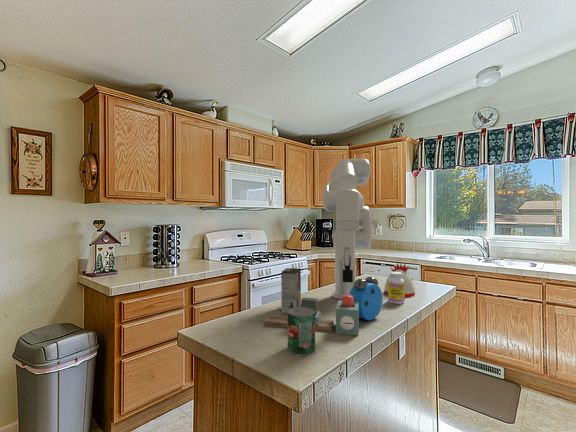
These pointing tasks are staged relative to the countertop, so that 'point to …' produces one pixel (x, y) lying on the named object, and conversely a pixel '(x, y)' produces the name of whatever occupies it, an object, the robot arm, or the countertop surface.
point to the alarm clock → (367, 297)
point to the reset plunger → (347, 301)
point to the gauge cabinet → (347, 319)
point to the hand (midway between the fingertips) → (347, 281)
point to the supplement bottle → (396, 288)
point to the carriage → (312, 304)
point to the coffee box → (291, 288)
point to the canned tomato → (301, 331)
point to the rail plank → (283, 322)
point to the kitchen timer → (408, 282)
